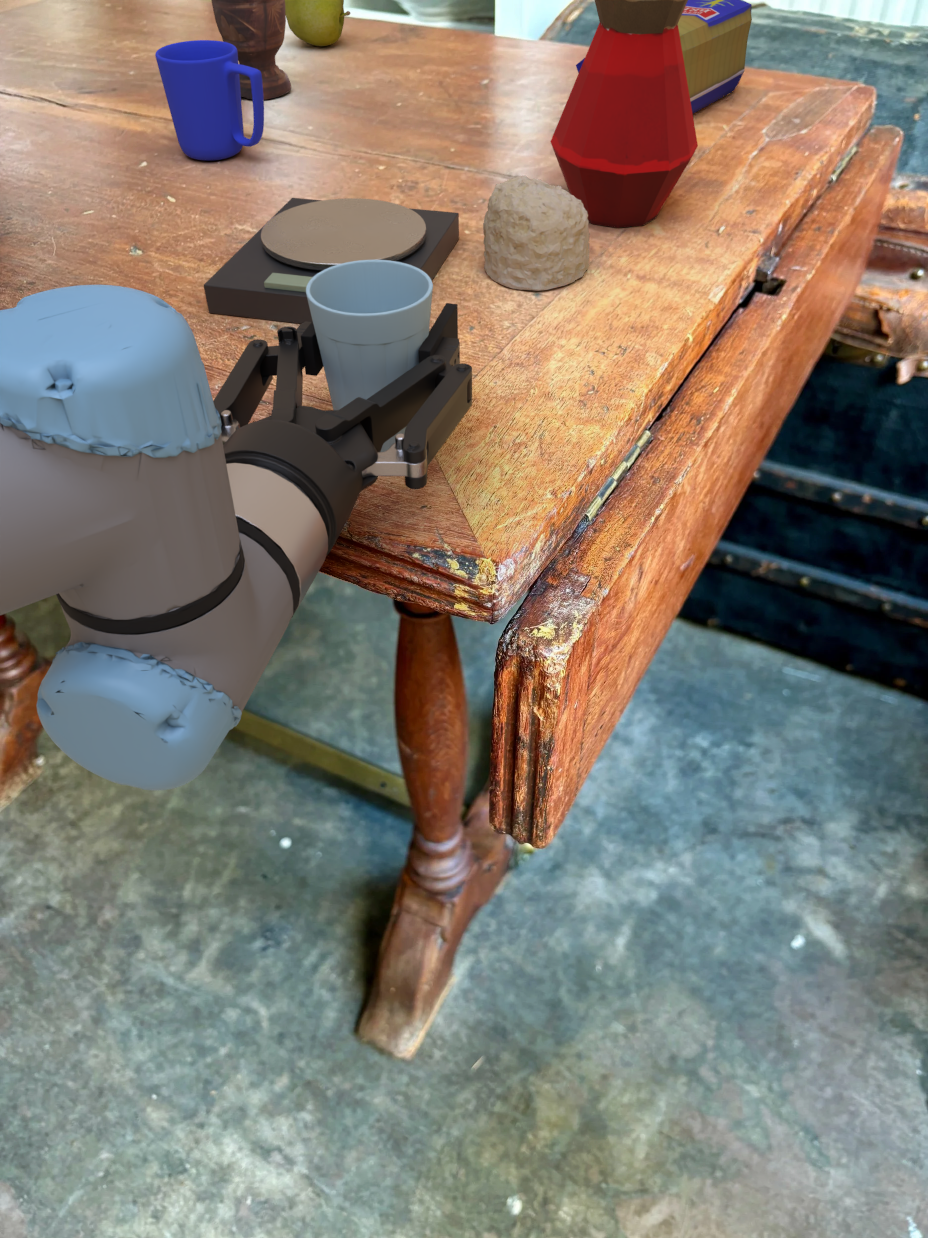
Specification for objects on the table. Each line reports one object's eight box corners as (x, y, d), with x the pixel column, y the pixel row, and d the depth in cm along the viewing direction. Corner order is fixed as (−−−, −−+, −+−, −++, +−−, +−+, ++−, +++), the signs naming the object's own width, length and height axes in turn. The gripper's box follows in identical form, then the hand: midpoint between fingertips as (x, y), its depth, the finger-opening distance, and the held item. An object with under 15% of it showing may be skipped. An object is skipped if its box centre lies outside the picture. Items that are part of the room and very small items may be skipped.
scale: (208, 313, 80) (201, 278, 78) (295, 222, 94) (291, 191, 92) (397, 335, 77) (395, 299, 75) (459, 238, 91) (458, 206, 89)
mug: (244, 178, 103) (228, 70, 96) (159, 157, 107) (137, 53, 100) (294, 154, 108) (282, 50, 101) (210, 135, 112) (193, 35, 105)
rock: (534, 287, 92) (477, 188, 88) (623, 241, 87) (566, 133, 83) (500, 331, 86) (436, 226, 82) (593, 284, 80) (529, 169, 76)
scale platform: (234, 261, 81) (233, 254, 81) (297, 198, 91) (297, 191, 91) (398, 278, 79) (398, 271, 78) (445, 212, 88) (445, 205, 88)
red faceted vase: (551, 176, 102) (562, -57, 88) (684, 181, 101) (717, -55, 87) (542, 238, 91) (555, -18, 77) (692, 244, 90) (732, -15, 76)
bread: (749, 91, 123) (766, -6, 116) (649, 146, 109) (661, 39, 101) (676, 77, 127) (687, -17, 120) (571, 128, 113) (577, 25, 106)
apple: (350, 52, 137) (345, -15, 132) (284, 52, 137) (276, -15, 132) (356, 38, 143) (351, -28, 137) (293, 38, 143) (286, -27, 138)
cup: (298, 436, 67) (279, 288, 60) (376, 391, 71) (366, 248, 64) (381, 478, 63) (371, 326, 56) (458, 427, 68) (457, 280, 61)
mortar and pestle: (297, 108, 119) (274, -95, 106) (224, 112, 118) (191, -92, 105) (294, 80, 128) (272, -112, 114) (226, 84, 127) (195, -109, 113)
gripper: (105, 547, 55) (267, 350, 71) (452, 605, 51) (540, 384, 67) (67, 430, 50) (251, 247, 66) (450, 486, 46) (545, 277, 62)
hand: (396, 316), depth 67 cm, fingers closed on cup, 7 cm apart
